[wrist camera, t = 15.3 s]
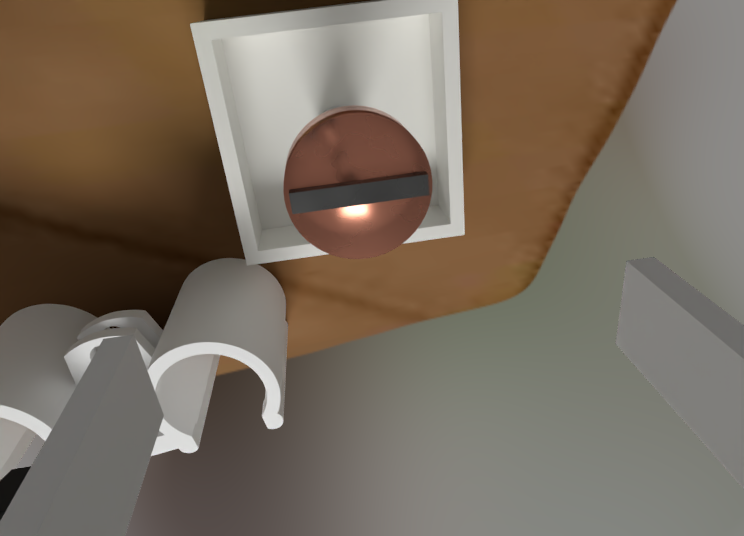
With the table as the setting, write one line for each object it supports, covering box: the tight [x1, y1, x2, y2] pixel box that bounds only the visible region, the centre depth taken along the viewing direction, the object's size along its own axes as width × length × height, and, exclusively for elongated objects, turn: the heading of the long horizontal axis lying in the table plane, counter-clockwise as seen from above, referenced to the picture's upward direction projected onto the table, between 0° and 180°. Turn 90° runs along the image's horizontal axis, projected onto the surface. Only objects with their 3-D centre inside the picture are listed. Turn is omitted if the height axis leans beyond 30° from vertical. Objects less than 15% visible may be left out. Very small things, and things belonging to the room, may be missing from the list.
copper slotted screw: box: [283, 105, 432, 259], centre depth 32 cm, size 7×7×16 cm
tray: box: [190, 0, 465, 266], centre depth 38 cm, size 16×16×5 cm
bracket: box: [0, 258, 288, 480], centre depth 41 cm, size 25×10×12 cm, turn 105°
